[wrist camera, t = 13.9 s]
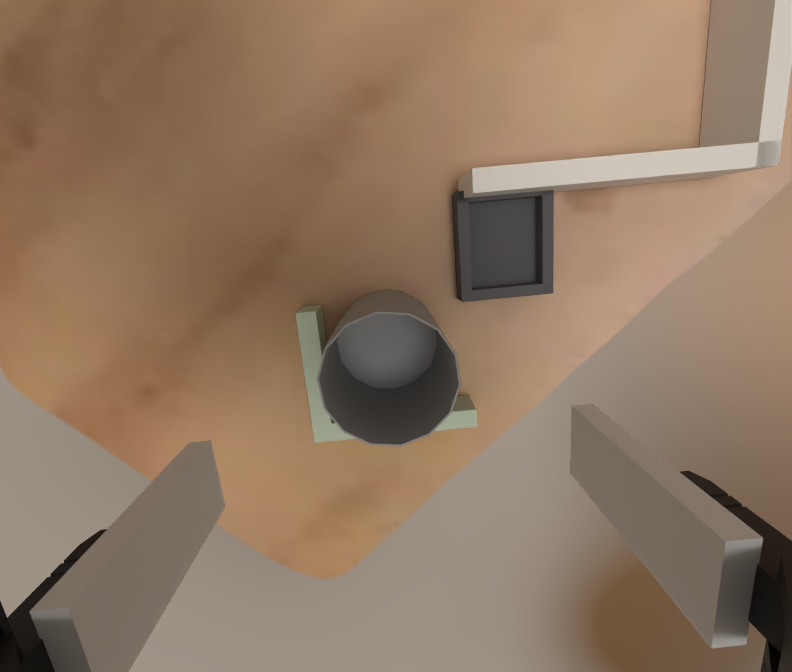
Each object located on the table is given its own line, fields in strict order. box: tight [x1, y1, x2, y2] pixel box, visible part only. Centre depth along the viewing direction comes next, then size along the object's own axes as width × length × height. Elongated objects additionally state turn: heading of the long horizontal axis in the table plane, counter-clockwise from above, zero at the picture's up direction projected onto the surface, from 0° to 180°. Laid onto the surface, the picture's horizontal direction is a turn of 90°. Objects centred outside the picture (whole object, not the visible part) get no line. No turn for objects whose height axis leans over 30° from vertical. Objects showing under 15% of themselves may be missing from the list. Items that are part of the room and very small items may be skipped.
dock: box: [295, 305, 477, 443], centre depth 32 cm, size 13×10×3 cm
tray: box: [452, 190, 554, 302], centre depth 30 cm, size 7×8×2 cm
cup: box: [317, 290, 461, 446], centre depth 28 cm, size 8×8×10 cm
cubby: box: [458, 0, 792, 198], centre depth 26 cm, size 20×17×5 cm
